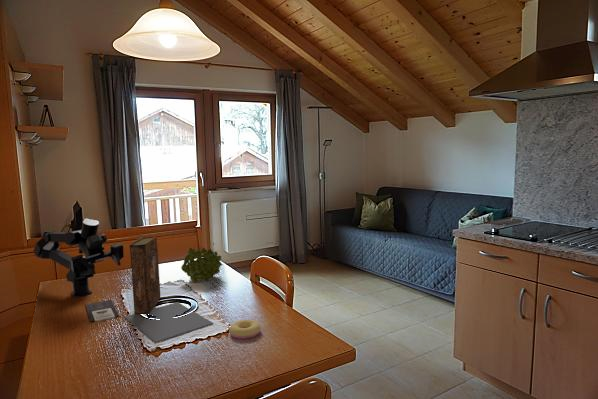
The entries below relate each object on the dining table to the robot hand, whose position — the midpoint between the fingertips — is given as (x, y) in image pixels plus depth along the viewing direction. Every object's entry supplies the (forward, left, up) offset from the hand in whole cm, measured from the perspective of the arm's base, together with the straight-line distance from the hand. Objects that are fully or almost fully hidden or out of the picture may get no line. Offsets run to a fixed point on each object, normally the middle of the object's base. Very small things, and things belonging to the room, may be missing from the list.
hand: (107, 268), depth 152 cm
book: (+10, +10, -15) cm, 20 cm away
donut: (+53, +24, -15) cm, 60 cm away
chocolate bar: (+2, -4, -15) cm, 16 cm away
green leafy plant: (-4, +41, -15) cm, 44 cm away
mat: (+27, +10, -15) cm, 32 cm away
